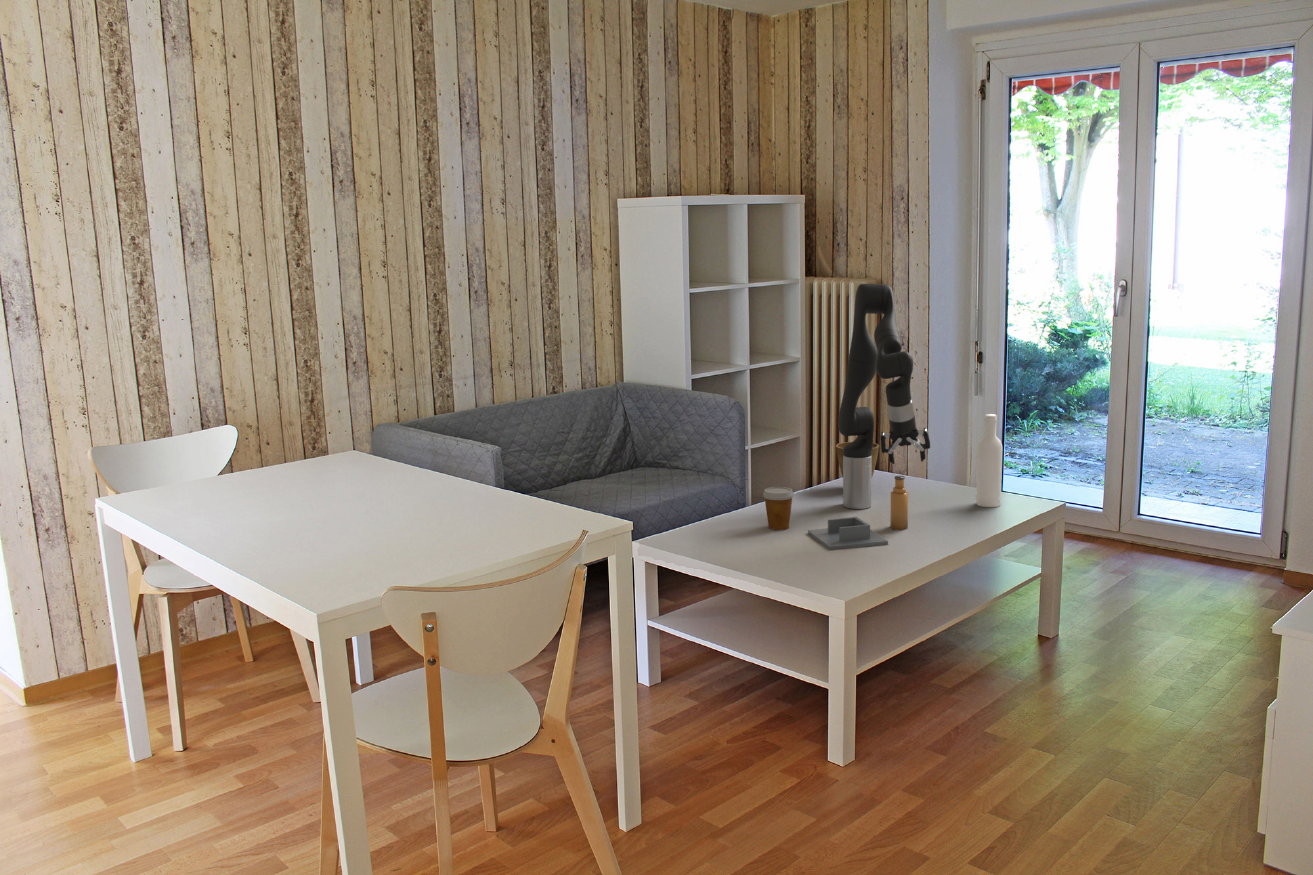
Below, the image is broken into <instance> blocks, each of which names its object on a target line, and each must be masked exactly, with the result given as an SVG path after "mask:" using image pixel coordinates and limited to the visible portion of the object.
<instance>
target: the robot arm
mask: <svg viewBox="0 0 1313 875" xmlns="http://www.w3.org/2000/svg"><path fill="white" fill-rule="evenodd" d="M895 306H896V305H895V297H894V291H893V289H892V287H891V286H890V285H889V284H884V283H860V284H859V285H858V287H857V289H856V292H855V299H854V311H853V312H854V314H853V325H852V326H853V327H852V334H851V341H850V346H849V347H850V348H849V354H848V359H847V360H848V361H847V367H846V368H847V369H846V375H845V376H846V378H845V383H844V391H843V395H842V400H841V404H840V408H839V411H838V412H839V413H838V418H837V426H838V428H837V429H838V431H839V433H840V434H841V435H842V436H844V437H853V436H855V437H856V438H855V439H854V440H853V441H851V442H852V443H850V444H848V445H846V446H845V447H844V449H843V477H842V505H843V507H844V508H847V509H852V510H862V509H869V508H871V507H872V481H873V476H872V448H873V443H874V436H875V415H874V412H873V410H872V409H871V408H870V407H868V406H857V404H858V402H859V399H860V397H861V395H862V394H863V392H864V391H865V390H866V388H868V386H869V385H870V384H871V382H872V380H874V378H875V376H876V373H877V376H878V377H880V378H881V379H884V380H887V379H893V378H897V379H895V380H893V381H890V382H889V383H887V384H886V386H885V397H886V402H887V410H886V411H887V417H888V421H889V422H888V423H889V428H890V429H889V432H885V431H881V432H880V446H881V447H880V448H881V449H880V450H881V453H883V454H885V453H886V454H888V461H889V462H890V463H891V464H892V465H895V459H896V458H895V455H894V454H895V453H894V451H895V450H896V449H897V448H898V446H899V447H904V446H908V447H909V446H911V445H912V446H913V447H915V448H916V449H918V450H919V457H920V462H921V463H922V462H924V460H926V450H929V449H930V448H931V441H930V436H929V431H928V428H927V427H924V428H922V429H920V430H919V429H918V428H917V423H916V417H915V408H914V404H913V400H912V399H913V398H912V395H911V394H912V392H911V381H912V380H911V379H912V375H913V369H914V359H913V356H912V355H911V353H909V352H908V351H905V350H903V349H902V341H901V339H900V335H899V332H898V328H897V317H896V307H895ZM869 314H873V315H874V314H875V315H876V314H878V315H882V314H883V315H882V316H883V317H882V318H881V319H880V321H879V322H878V324H877V326H875V330H874V334H873V338H874V340H873V338H872V336H871V334H870V332H869V329H868V327H867V321H866V316H867V315H869ZM919 435H920V437H921V438H923V439H924V443H923V442H922V441H921V440H920V439H919ZM889 438H890V440H892V441H891V443H890V444H889V446H887V444H886V441H888V440H889Z"/></svg>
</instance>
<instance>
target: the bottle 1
mask: <svg viewBox="0 0 1313 875" xmlns="http://www.w3.org/2000/svg"><path fill="white" fill-rule="evenodd" d="M905 479H906V477H905V476H904V475H895V476H894V481H895V482H894V483H895V484H894V487H892V491H890V520H889V521H890V522H889V523H890V525H889V528H890V529H892V530H898V531H899V530H900V531H902V530H907V529H908V528H909V524H908V523H909V492H908V491H907V487H906V486H905Z"/></svg>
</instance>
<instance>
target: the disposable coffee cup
mask: <svg viewBox="0 0 1313 875" xmlns="http://www.w3.org/2000/svg"><path fill="white" fill-rule="evenodd" d="M794 495H795V493H794V491H793V489H792V488H791V487H784V486H771V487H766V488H765V489H764V491H763V493H762V496H763V498H764V503H765V511H766V517H767V518H766V519H767V526H768V528H769V529H770V530H774V531H783V530H784V531H785V530H788V529H789V528H790V521H791V512H792V504H793V497H794Z"/></svg>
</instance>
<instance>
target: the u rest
mask: <svg viewBox="0 0 1313 875" xmlns="http://www.w3.org/2000/svg"><path fill="white" fill-rule="evenodd" d="M807 534H808V535H809V536H811V537H812V538H813V539H815V540H816V541H817V542H818V543H820V544H821V545H822V546H823V547H825V548H827V549H828V551H833V550H843V549H855V548H864V547H865V548H866V547H874V546H875V547H877V546H885V545H889V541H888V539H886V538H884V537H883V536H881V535H880V534H878V533H877V532H875V531H873V530H872V529H871V525H870V524H869V523H867V522H865V521H864V520H863V519H860V518H859V517H858V516H850V517H848V516H847V517H837V518H829V519H827V528H817V529H808V530H807Z"/></svg>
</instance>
